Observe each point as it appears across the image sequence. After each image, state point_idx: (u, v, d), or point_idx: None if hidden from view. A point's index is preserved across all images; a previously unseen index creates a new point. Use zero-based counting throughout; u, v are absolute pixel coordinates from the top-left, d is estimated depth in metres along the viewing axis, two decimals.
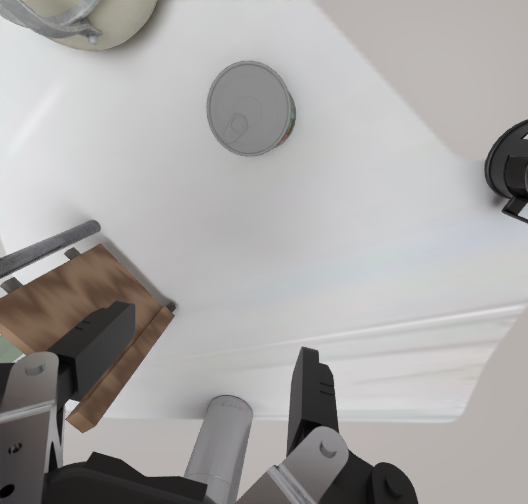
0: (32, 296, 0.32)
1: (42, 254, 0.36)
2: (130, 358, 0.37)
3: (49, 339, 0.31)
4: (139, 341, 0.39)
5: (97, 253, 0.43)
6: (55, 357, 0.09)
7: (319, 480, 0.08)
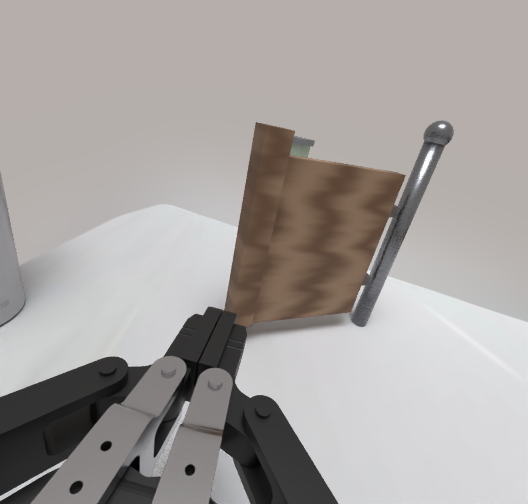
0: (379, 213, 0.30)
1: (388, 253, 0.34)
2: (263, 229, 0.25)
3: (350, 187, 0.27)
4: (262, 257, 0.27)
5: (348, 300, 0.35)
6: (182, 361, 0.10)
7: (195, 406, 0.09)
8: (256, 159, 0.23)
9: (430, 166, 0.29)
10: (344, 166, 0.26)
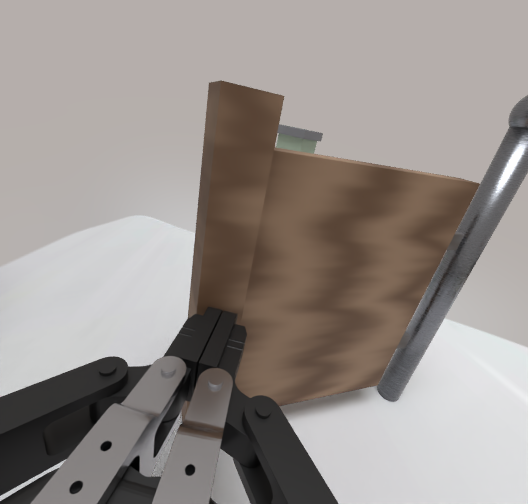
0: (432, 245, 0.18)
1: (440, 303, 0.22)
2: (230, 284, 0.14)
3: (387, 205, 0.15)
4: None
5: (376, 371, 0.23)
6: (181, 361, 0.10)
7: (195, 406, 0.09)
8: (208, 155, 0.12)
9: (522, 168, 0.17)
10: (379, 169, 0.14)
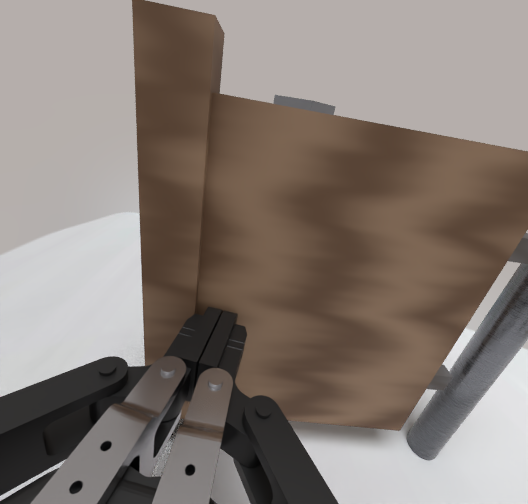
0: (480, 249, 0.13)
1: (507, 342, 0.15)
2: (176, 256, 0.12)
3: (396, 181, 0.11)
4: (185, 309, 0.13)
5: (395, 411, 0.18)
6: (181, 361, 0.10)
7: (195, 406, 0.09)
8: None
9: None
10: (378, 125, 0.10)
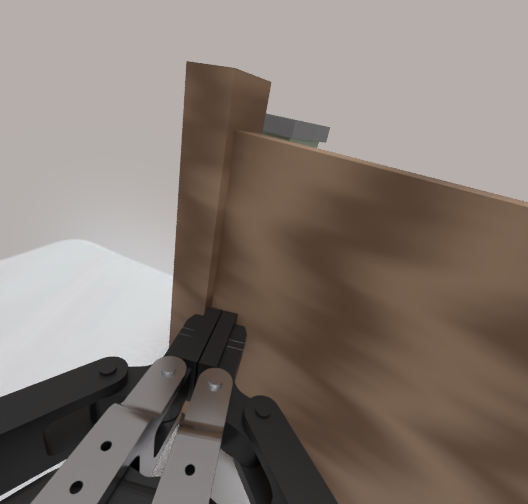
0: None
1: None
2: (195, 265, 0.14)
3: (413, 243, 0.09)
4: None
5: None
6: (181, 361, 0.10)
7: (195, 406, 0.09)
8: None
9: None
10: (390, 173, 0.09)
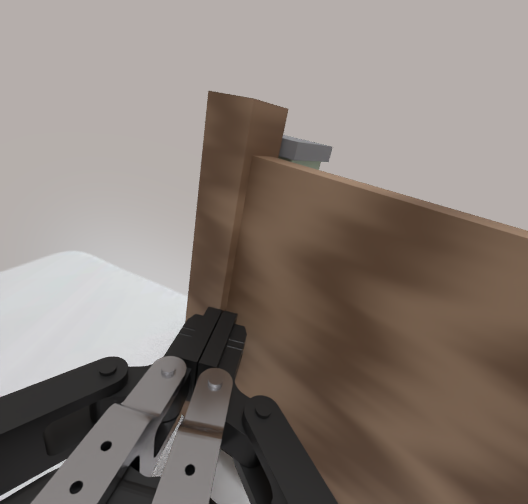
0: None
1: None
2: (210, 281, 0.14)
3: (425, 273, 0.09)
4: None
5: None
6: (182, 361, 0.10)
7: (195, 406, 0.09)
8: None
9: None
10: (402, 203, 0.09)
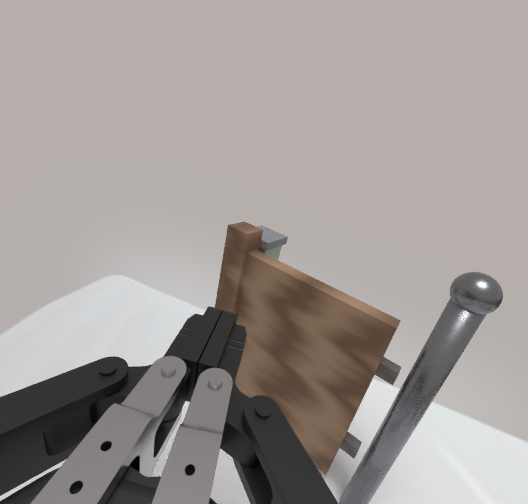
0: (356, 360, 0.22)
1: (393, 444, 0.22)
2: (226, 306, 0.29)
3: (310, 307, 0.24)
4: None
5: (321, 454, 0.27)
6: (182, 361, 0.10)
7: (195, 406, 0.09)
8: None
9: (462, 342, 0.18)
10: (302, 281, 0.24)
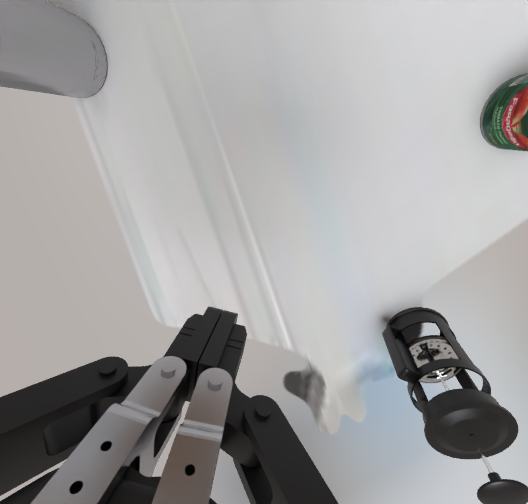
0: None
1: None
2: None
3: None
4: None
5: None
6: (182, 361, 0.10)
7: (195, 406, 0.09)
8: None
9: None
10: None
